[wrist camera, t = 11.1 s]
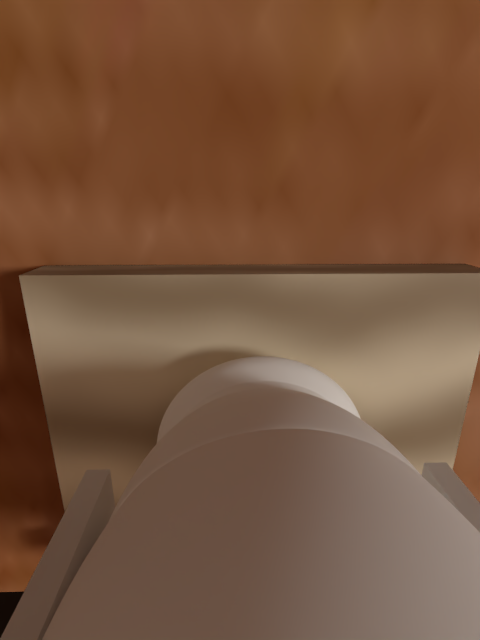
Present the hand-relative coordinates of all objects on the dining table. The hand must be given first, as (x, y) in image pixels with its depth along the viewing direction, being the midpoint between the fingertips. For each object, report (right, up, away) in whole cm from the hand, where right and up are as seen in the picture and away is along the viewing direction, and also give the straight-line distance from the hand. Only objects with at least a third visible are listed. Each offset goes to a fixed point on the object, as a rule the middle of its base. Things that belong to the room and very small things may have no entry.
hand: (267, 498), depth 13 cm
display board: (0, +2, +5) cm, 6 cm away
